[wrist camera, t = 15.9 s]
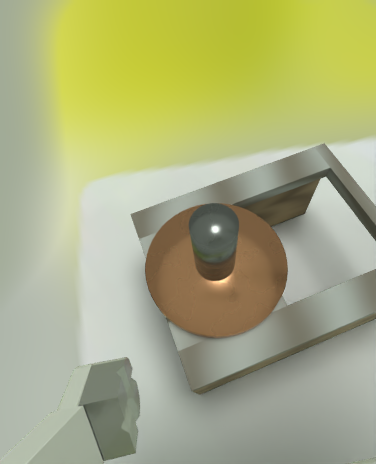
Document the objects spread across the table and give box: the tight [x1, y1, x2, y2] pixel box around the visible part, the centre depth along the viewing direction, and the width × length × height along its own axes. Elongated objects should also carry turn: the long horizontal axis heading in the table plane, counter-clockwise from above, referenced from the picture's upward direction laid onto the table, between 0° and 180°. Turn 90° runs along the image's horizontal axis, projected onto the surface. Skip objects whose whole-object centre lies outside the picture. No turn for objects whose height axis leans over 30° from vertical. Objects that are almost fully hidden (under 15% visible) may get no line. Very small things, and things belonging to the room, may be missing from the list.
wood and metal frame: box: [131, 144, 376, 394], centre depth 28 cm, size 18×14×10 cm
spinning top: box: [145, 203, 288, 338], centre depth 23 cm, size 10×10×12 cm
